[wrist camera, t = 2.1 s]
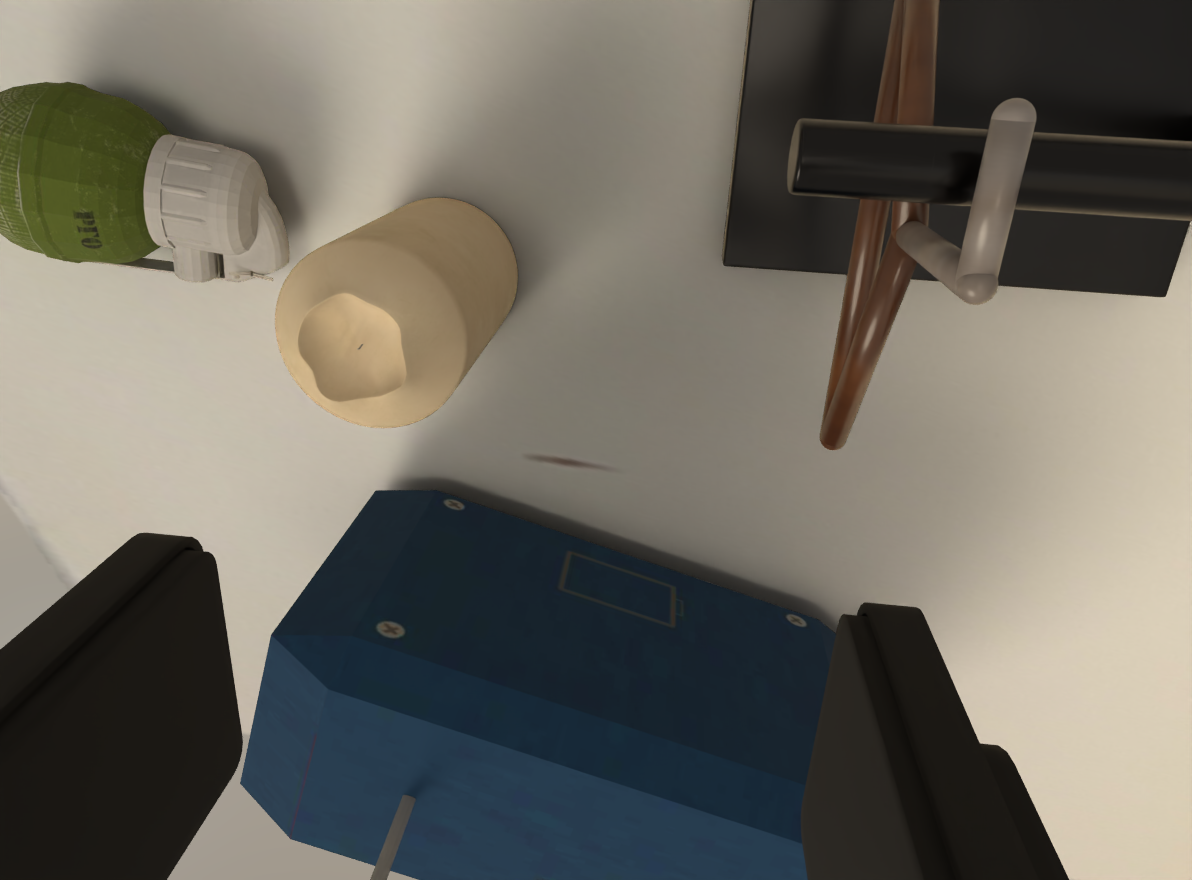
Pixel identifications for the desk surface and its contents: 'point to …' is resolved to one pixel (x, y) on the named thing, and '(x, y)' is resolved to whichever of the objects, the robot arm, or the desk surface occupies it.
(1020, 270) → the rail stand
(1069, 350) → the desk surface
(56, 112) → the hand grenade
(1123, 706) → the desk surface
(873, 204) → the hanger
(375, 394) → the candle
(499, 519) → the radio
